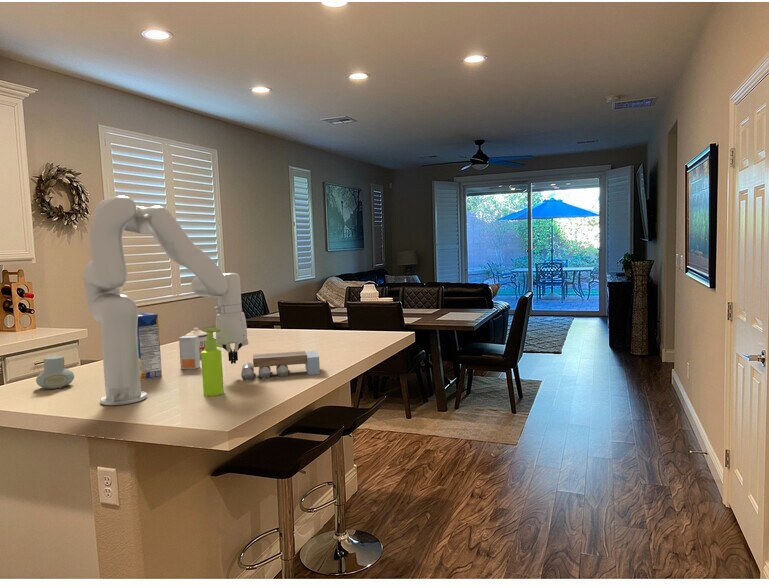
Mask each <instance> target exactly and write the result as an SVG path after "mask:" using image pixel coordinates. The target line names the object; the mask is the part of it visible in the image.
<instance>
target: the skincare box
mask: <svg viewBox="0 0 769 588" xmlns="http://www.w3.org/2000/svg"><path fill="white" fill-rule="evenodd" d="M178 342H179V344H178V345H179V364H180V370H197V369H199V368H200V366H201V364H200V363H201V357H199V339H198V336H185V335H183V336H179V337H178ZM196 368H197V369H196Z"/></svg>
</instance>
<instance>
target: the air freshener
mask: <svg viewBox="0 0 769 588" xmlns="http://www.w3.org/2000/svg"><path fill="white" fill-rule="evenodd" d="M43 369H44V371H41V372H40V373H39V374H38V375H36V379H35V382H36V384H37V385H38V386H39V387H41V388H43V389H48V390H57V388H59V389H62V388H64V387H67V386H68V385H69V384H71V383H72V382H73V381H74V379H75V374H74V372H73V371H72V370H70V369H68V368H66V365H65V357H64V356H63V355H55V356H48V357H45V358H44V359H43Z"/></svg>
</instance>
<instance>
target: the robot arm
mask: <svg viewBox="0 0 769 588" xmlns="http://www.w3.org/2000/svg"><path fill="white" fill-rule="evenodd" d="M124 231H126V232H131V233H136V234H142V235H151V236H152V237H153V239H154V240H155V242H157V243H158V244H159V246H160V247H161V249H162V250H163V251H164V253H165V254H166V255H167V256H168V258H170V260H171V261H173V262H175V263H176V264H178V265H181V266H182V267H184V268H186V269H187V270H189V271H190V272H191V273H192V274H193V275H194V276H195V277H193V278H192V281H191V283H190V287H191V290H192V292H193V293H194V294H195V295H197V296H200V297H204V298H205V297H206V298H210V297H211V298H217V301H218V305H217V306H214V307H213V311H215V312H218V314H216V318H215V328H217V329H220V330H221V331H220V332H215V339H216V344H217V348H221V349H224V351H227V354H228V362H230V364H231V365H232V364H234V365H235V364H237V361H238V360H239V358H238V357H239V356H238V355H239V353H238V351H239V350H240V349H241V348H242V347H244V346H247V345H249V340H248V327H247V320H246V319H247V318H246V315H245V312H244V311H243V310H242V309H243V308H242V294H241V293H242V292H241V291H242V289H241V277H240V274H239V273H236V272H227V273H226V272H225V273H223V271H222V270H221V268H220V267H219V266H218V264H217V263H215V261H214V260H213V259H212V258H211V257H210V256H209V255H207V254H206V252H204V251H203V250H202V249H201V248H200V247H198V246H197V245H196V244H194V242H193V241H192V239H190V237H189V236H188V235H187V233H186V232H185V230H184V229H183V227H181V224H179V222H178V220H176V217H174V215H173V214H172V212H170V210H169V209H168V208H167V207H164V206H161V205H153V206H148V207H147V206H146V207H145V206H139V205H137V204H136V202H135V201H134V200H133V199H132V198H131V197H129V196H125V195H116V196H115V195H114V196H112V197H109V198H105V199H103V200H100V201H99V202H98V203H97V204H96V206H95V209H94V216H93V218H92V221H91V224H90V226H89V232H88V242H89V249H90V257H91V260H89V261H87V263H86V265H85V266H84V269H83V273H82V274H83V275H82V276H83V277H82V278H83V284H84V289H85V294H86V300H87V306H88V309H89V313H90V315H91V317H92V318H93V319H94V320H95V321H96V322H98V323H100V324H102V328H101V350H102V364H103V374H104V376H103V377H104V386H105V387H104V388H105V396H102V397H101V398H100V401H99V402H100V404H101V405H104V406H121V405H128V404H135V403H137V402H141V401H143V400H145V399H146V398H148V393H147V392H146V391H144V390H142V385H141V379H140V368H139V354H138V342H137V323H138V313H139V309H138V305H137V304H136V302H135V300H134V299H133V298H132V297H130V296H129V295H127V294H123V293H121V290H120V288H122V287H123V286H124V285H125V284H126V283H127V280H128V277H129V276H128V268H127V263H126V257H125V253H124V247H123V234H124ZM231 344H234V348H232V347H231Z"/></svg>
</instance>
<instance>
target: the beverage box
mask: <svg viewBox="0 0 769 588" xmlns="http://www.w3.org/2000/svg"><path fill="white" fill-rule="evenodd" d="M160 341H161V340H160V328H159V315H158V313H151V312H138V323H137V342H138V354H139V368H140V380H141V379H144V380H147V379H148V378H149V379H154V378H160V377H163V373H162V359H161V346H160V345H161V343H160ZM149 379H148V380H149Z"/></svg>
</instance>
